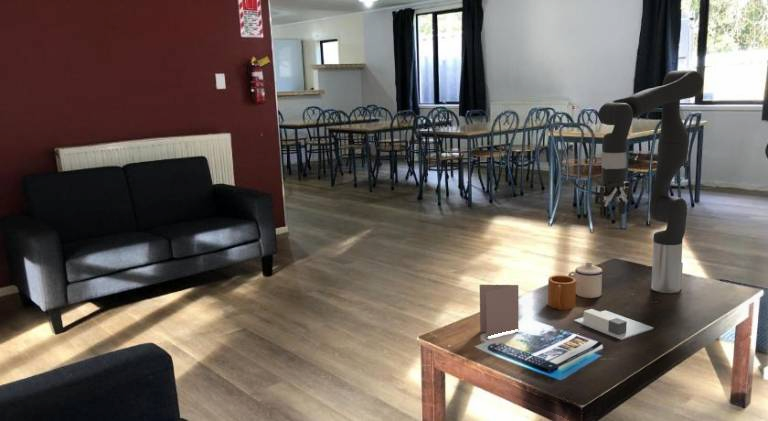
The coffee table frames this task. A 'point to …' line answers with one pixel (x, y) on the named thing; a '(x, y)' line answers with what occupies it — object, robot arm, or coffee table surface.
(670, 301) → the coffee table surface
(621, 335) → the paper pad
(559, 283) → the mug
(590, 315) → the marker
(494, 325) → the greeting card
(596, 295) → the teacup with lid
